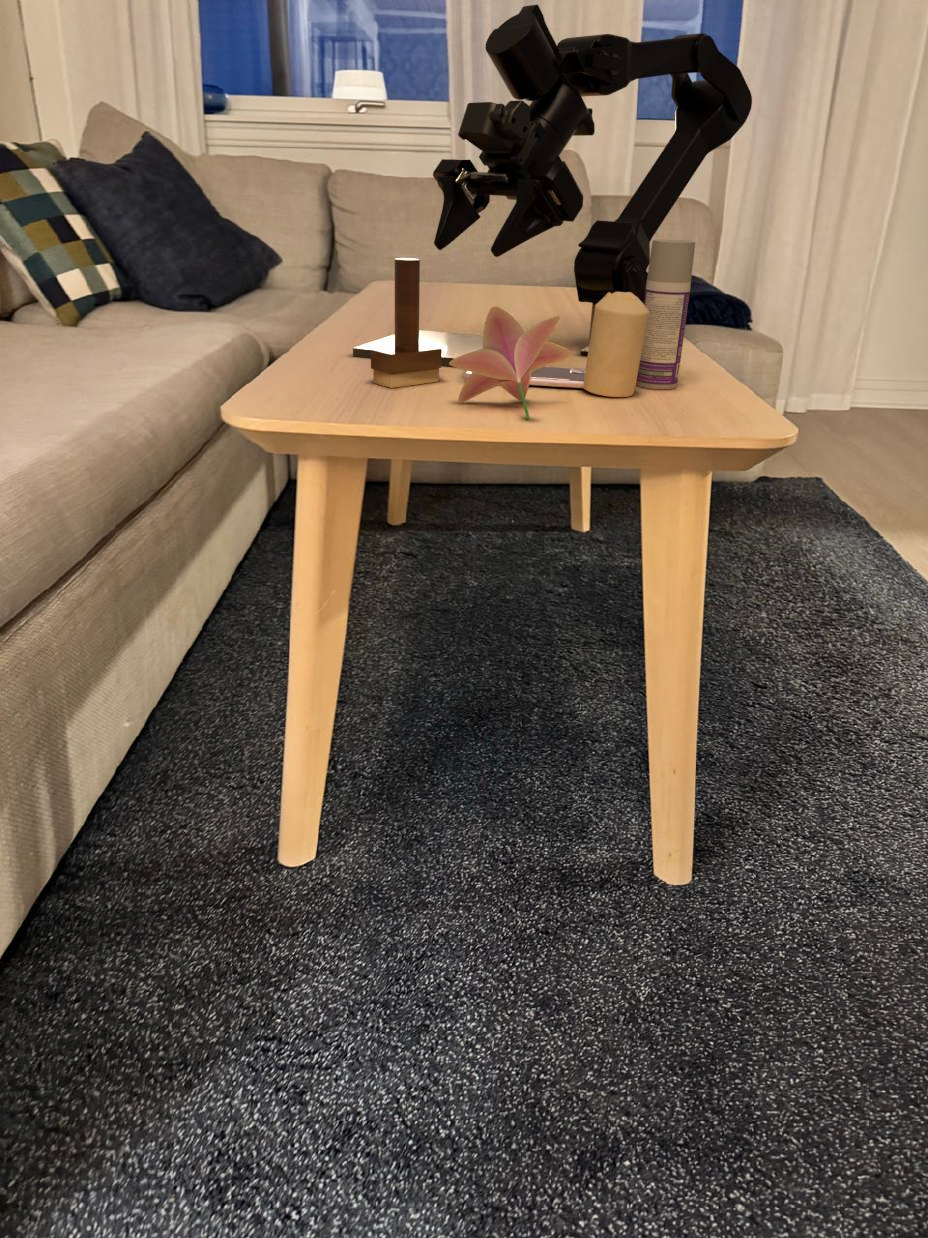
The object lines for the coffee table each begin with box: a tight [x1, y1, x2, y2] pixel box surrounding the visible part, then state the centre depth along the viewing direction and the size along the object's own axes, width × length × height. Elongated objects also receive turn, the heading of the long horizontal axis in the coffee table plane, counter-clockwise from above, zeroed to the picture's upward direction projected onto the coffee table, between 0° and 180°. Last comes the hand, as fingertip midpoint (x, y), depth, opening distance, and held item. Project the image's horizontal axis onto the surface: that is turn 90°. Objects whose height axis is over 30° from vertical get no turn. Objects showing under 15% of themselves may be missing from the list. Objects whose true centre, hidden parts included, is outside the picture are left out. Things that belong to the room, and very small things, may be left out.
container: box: [636, 238, 696, 390], centre depth 99 cm, size 5×5×15 cm
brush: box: [370, 257, 443, 389], centre depth 96 cm, size 4×7×12 cm, turn 132°
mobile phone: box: [463, 366, 586, 389], centre depth 101 cm, size 8×1×15 cm
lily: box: [449, 306, 574, 420], centre depth 86 cm, size 12×12×10 cm
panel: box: [352, 329, 483, 368], centre depth 117 cm, size 18×15×1 cm
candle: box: [583, 292, 649, 398], centre depth 95 cm, size 6×6×10 cm
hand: (464, 250), depth 98 cm, fingers open, 9 cm apart
